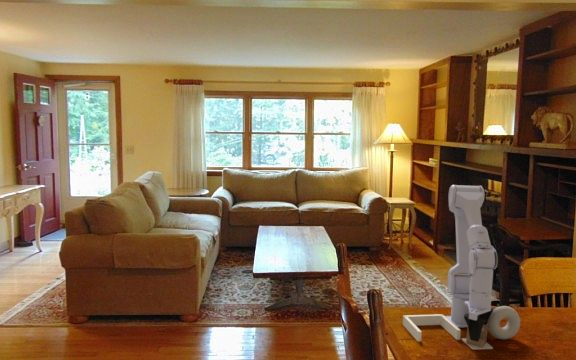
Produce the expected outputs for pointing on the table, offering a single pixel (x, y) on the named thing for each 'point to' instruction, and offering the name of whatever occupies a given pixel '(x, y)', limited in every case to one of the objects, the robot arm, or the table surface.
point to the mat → (477, 346)
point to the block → (482, 338)
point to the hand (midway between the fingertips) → (477, 336)
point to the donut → (512, 322)
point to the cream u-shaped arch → (437, 319)
